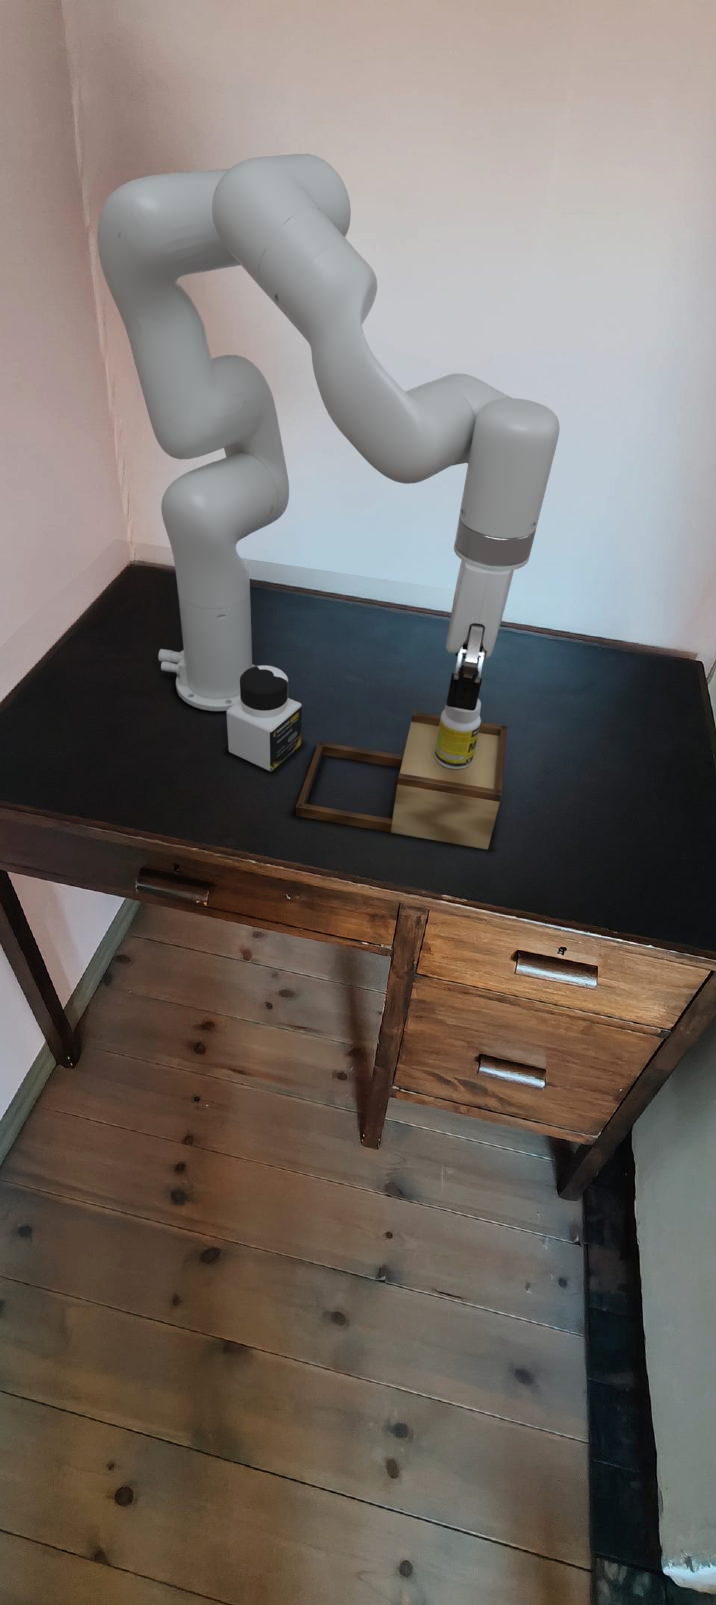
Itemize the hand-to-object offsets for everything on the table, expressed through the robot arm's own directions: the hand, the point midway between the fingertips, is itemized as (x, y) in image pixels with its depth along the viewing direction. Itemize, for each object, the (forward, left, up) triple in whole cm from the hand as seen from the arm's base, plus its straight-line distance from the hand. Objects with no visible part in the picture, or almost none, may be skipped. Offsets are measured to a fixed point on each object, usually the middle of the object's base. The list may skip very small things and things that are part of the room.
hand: (464, 681), depth 93 cm
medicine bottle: (-25, +5, -19) cm, 32 cm away
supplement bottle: (0, 0, -11) cm, 11 cm away
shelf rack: (-6, 0, -19) cm, 20 cm away
